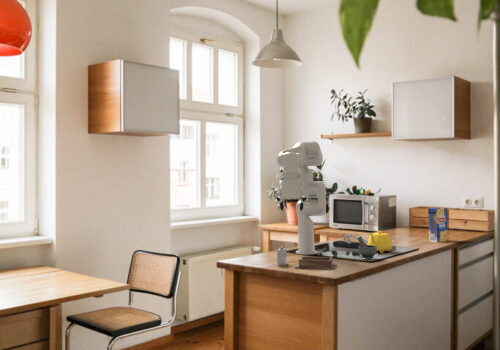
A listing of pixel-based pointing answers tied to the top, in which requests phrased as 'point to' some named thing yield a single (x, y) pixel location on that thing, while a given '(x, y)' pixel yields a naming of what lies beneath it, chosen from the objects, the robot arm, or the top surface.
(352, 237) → the bracket
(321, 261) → the brown wooden base plate
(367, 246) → the mortar and pestle
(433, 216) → the blue food box
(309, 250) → the robot arm
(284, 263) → the bracket block
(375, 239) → the teapot
